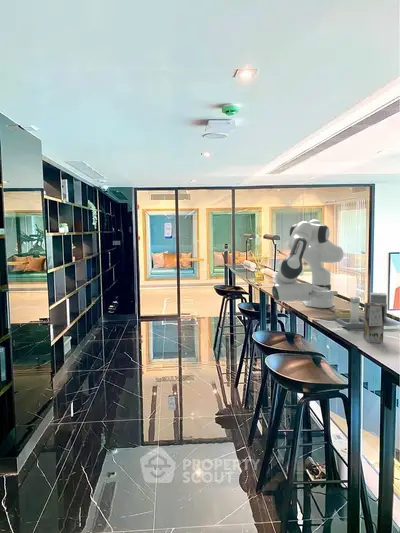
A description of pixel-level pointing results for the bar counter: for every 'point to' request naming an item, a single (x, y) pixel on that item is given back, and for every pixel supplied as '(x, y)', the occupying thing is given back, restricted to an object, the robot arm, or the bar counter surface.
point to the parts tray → (351, 324)
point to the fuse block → (342, 314)
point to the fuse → (354, 310)
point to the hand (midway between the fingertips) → (332, 291)
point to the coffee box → (374, 322)
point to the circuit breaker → (379, 300)
